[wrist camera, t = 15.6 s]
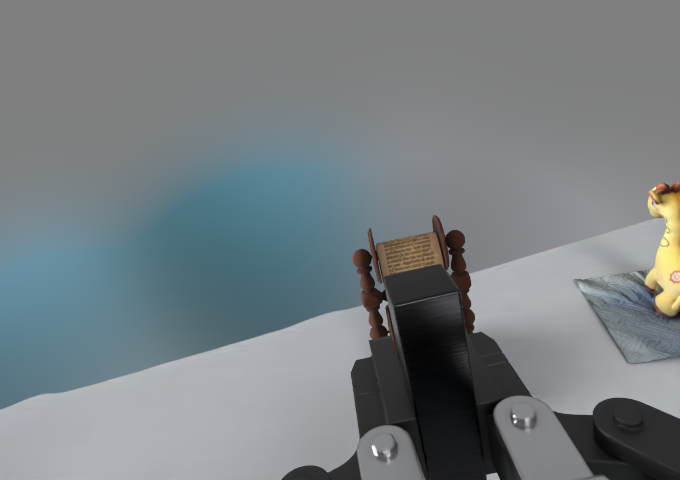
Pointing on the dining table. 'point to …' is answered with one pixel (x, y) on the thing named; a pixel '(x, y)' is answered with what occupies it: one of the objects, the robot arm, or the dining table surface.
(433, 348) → the black rectangular stick
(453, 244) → the scroll
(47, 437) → the dining table surface
